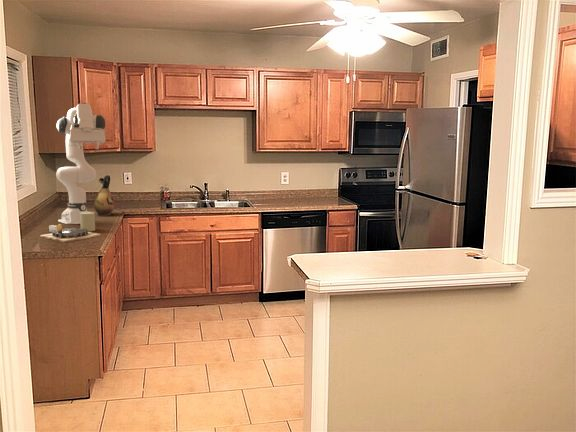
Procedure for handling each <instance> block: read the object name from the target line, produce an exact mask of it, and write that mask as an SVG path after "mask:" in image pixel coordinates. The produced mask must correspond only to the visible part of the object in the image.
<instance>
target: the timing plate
mask: <svg viewBox="0 0 576 432" xmlns="http://www.w3.org/2000/svg"><path fill="white" fill-rule="evenodd" d="M57 230H58V228H57ZM38 236H39V238H43V239H47V240H52V241H56V242H61V243H70V242H75V241H80V240H86V239H91V238H96V237H101V233H97V232H93V231H88V234H86V235H83V236H81V237H80V236H78V237H69V238H66V237H62V238H60V237H55V236H52V232H49V233H45V234H39V235H38Z"/></svg>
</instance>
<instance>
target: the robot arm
mask: <svg viewBox="0 0 576 432" xmlns="http://www.w3.org/2000/svg"><path fill="white" fill-rule="evenodd" d="M105 128H106V119H105V118H104V116H103V115H102V114H93V110H92V107H91V104H90V103H86V102H85V103H84V102H81V103H78V104H77V105H76V107H73V108H70V109H69V110H68V111H67V114H66V116H62V117H61V118H59V119H58V120H57V122H56V129H57V131H58V133H59V134H62V135H65V153H66V154H65V155H66V159H67V160H69V162H71V163H73V164H74V165H76V166H63V167H58V168H57V170H56V173H55V177H56V179H57V180H58V182H60V183H61V184H63V186H65V188H66V190H67V193H68V202H67V203H66V205H67V208H66V209H65V210H63V212H61V219H58V220H57V222H59V223H62V224H65V225H81V224H80V213H81V212H89V210H88V202H87V193H86V190H85V189H84V188H82V187H80V186H78V185H77V183H90V182H93V181H95V179H96V178H97V171H96V169H95V168H94V167H92V166H91V165H90V164H89V163H88V161H87V160H86V157H85V154H84V145H83V144H97V145H95V150H99V146H100V144H104V143H105V142H106V131H105Z"/></svg>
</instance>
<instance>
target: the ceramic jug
mask: <svg viewBox="0 0 576 432" xmlns="http://www.w3.org/2000/svg"><path fill="white" fill-rule="evenodd" d="M98 182H99V183H100V184H102V187H101V189H100V190H99V191H98V192H97V194H96V196H95V198H94V201H93V208H94V210H95V212H96V213H97V216H100V217H103V216H104V217H105V216H106V217H107V216H111V215H112V213H113V212H114V210H115V208H116V201H115V198H114V196H113V194H112V193H111V191H110V189H109V187H110V183H111V176H110V175H108V174H107V175H105V176H104V177H100V178H98Z"/></svg>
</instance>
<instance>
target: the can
mask: <svg viewBox="0 0 576 432" xmlns="http://www.w3.org/2000/svg"><path fill="white" fill-rule="evenodd" d="M95 212H96V211H88V212H81V213H80V224H79V225H80V229H85V230H86V229H87V230H88V232H93V231H96V230H97V229H96V219H95V218H96V213H95Z"/></svg>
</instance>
